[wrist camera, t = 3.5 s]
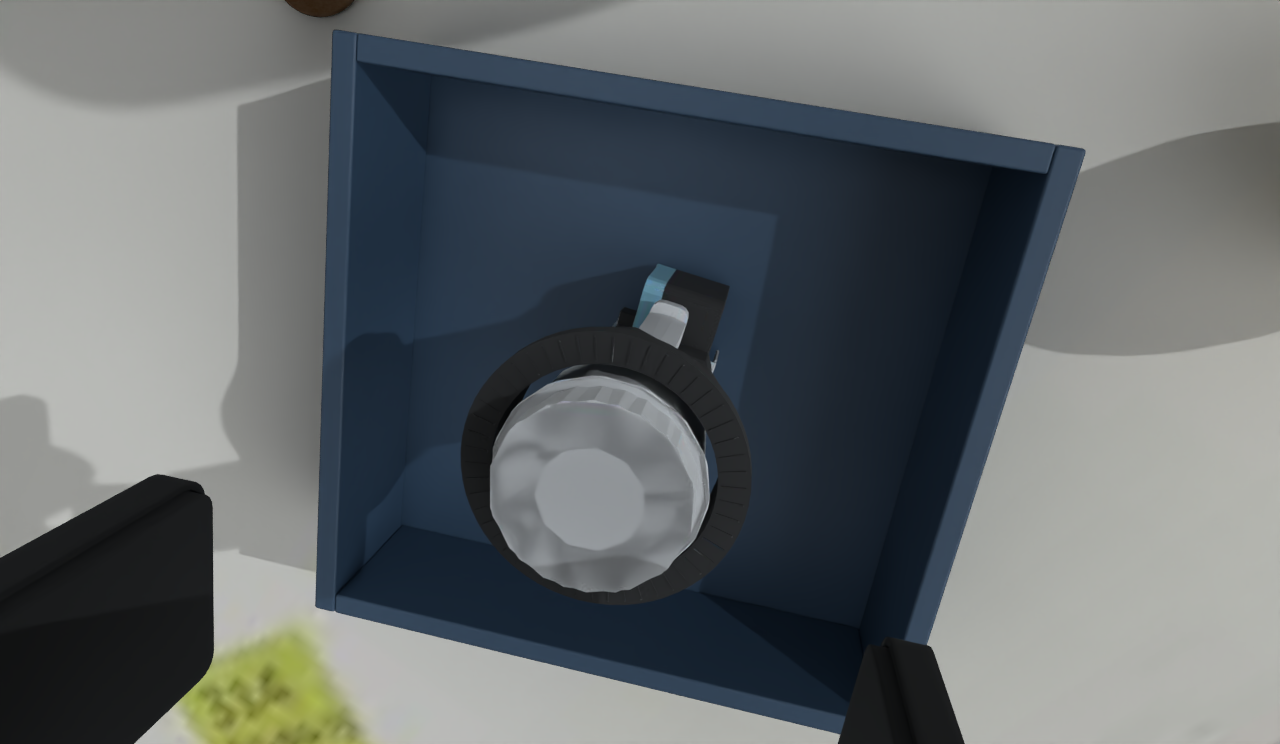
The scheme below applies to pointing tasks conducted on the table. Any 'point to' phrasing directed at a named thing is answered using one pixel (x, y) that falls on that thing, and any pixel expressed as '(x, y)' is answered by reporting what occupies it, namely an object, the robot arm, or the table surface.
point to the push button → (613, 451)
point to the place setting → (319, 6)
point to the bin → (746, 340)
